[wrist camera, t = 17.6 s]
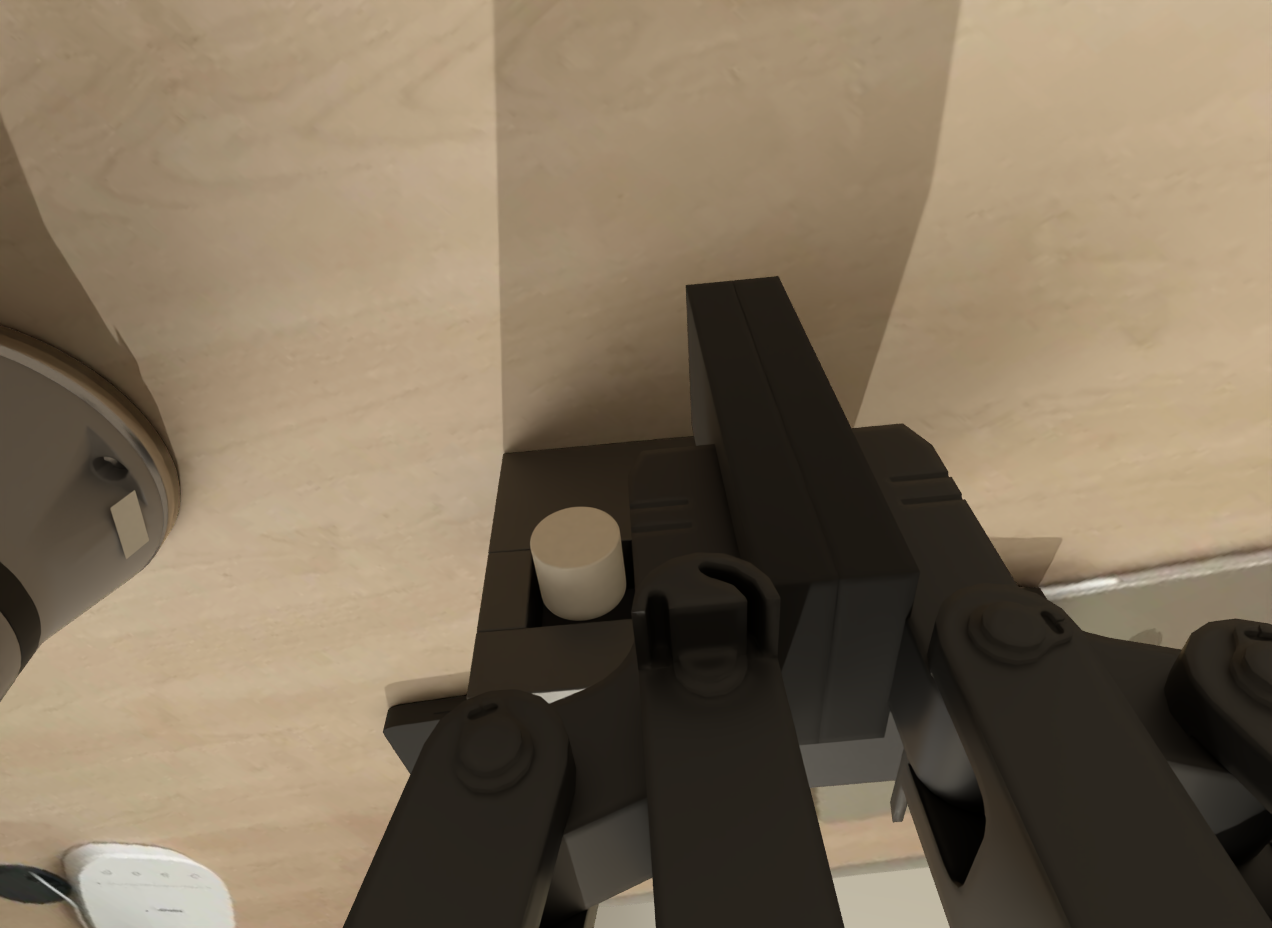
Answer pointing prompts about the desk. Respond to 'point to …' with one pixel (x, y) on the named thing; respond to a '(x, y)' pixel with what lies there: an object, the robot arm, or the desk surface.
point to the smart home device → (415, 726)
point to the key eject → (579, 563)
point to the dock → (592, 649)
